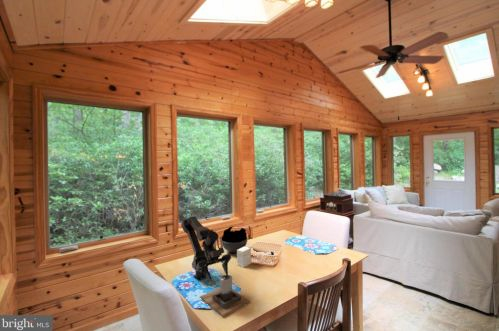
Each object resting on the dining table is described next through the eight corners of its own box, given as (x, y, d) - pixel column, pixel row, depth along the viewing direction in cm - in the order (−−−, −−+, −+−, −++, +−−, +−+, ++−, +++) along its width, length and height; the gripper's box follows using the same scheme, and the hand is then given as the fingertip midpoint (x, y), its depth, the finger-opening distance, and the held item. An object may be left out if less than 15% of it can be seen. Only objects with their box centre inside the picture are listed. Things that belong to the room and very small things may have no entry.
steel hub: (220, 297, 125) (219, 275, 124) (232, 295, 125) (231, 274, 125) (220, 303, 119) (219, 280, 118) (233, 302, 119) (232, 279, 119)
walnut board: (199, 298, 126) (199, 292, 126) (225, 287, 136) (225, 281, 136) (222, 317, 111) (222, 310, 111) (249, 302, 121) (249, 296, 121)
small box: (244, 261, 170) (244, 246, 169) (251, 263, 166) (251, 247, 166) (237, 265, 163) (236, 249, 163) (243, 267, 160) (243, 251, 159)
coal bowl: (215, 251, 188) (215, 227, 187) (236, 245, 201) (235, 222, 201) (232, 259, 173) (231, 232, 172) (253, 251, 186) (252, 226, 186)
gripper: (197, 246, 126) (207, 276, 117) (229, 239, 137) (240, 266, 128) (192, 256, 133) (200, 285, 124) (222, 248, 143) (233, 275, 135)
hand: (219, 277), depth 128 cm, fingers open, 9 cm apart
